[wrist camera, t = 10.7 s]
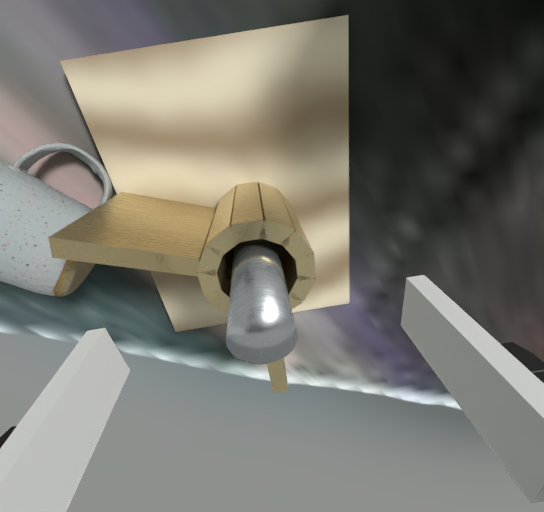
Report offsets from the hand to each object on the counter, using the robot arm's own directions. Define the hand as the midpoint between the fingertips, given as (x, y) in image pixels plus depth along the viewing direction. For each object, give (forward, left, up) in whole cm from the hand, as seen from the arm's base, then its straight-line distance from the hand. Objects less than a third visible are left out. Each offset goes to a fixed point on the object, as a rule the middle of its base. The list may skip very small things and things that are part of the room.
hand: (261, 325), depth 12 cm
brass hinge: (+3, -4, -13) cm, 14 cm away
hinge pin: (0, 0, -13) cm, 13 cm away
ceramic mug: (-4, -16, -14) cm, 22 cm away
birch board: (-1, -1, -14) cm, 14 cm away
